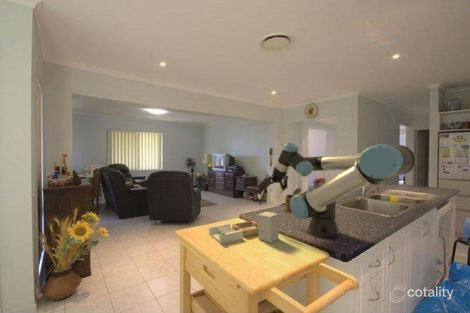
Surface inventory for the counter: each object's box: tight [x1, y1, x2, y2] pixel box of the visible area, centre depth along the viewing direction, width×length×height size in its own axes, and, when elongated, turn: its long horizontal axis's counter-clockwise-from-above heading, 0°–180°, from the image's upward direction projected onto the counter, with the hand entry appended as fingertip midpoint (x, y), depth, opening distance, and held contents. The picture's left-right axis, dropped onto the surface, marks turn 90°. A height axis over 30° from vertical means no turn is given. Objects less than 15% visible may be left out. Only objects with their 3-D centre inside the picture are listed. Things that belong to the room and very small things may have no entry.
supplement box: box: [257, 211, 279, 244], centre depth 111 cm, size 7×7×13 cm
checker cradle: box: [208, 222, 243, 245], centre depth 115 cm, size 14×12×5 cm
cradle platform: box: [216, 225, 235, 233], centre depth 115 cm, size 9×6×1 cm, turn 29°
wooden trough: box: [231, 220, 259, 239], centre depth 122 cm, size 13×13×3 cm
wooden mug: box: [283, 187, 302, 213], centre depth 160 cm, size 9×14×18 cm, turn 29°
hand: (268, 197), depth 135 cm, fingers open, 13 cm apart
